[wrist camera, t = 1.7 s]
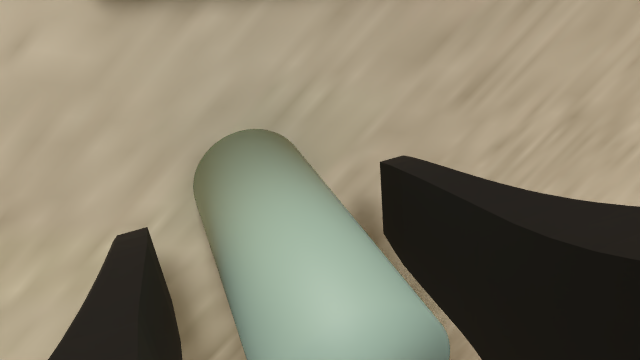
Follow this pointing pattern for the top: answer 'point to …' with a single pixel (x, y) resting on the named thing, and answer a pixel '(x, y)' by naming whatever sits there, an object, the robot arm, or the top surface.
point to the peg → (303, 262)
